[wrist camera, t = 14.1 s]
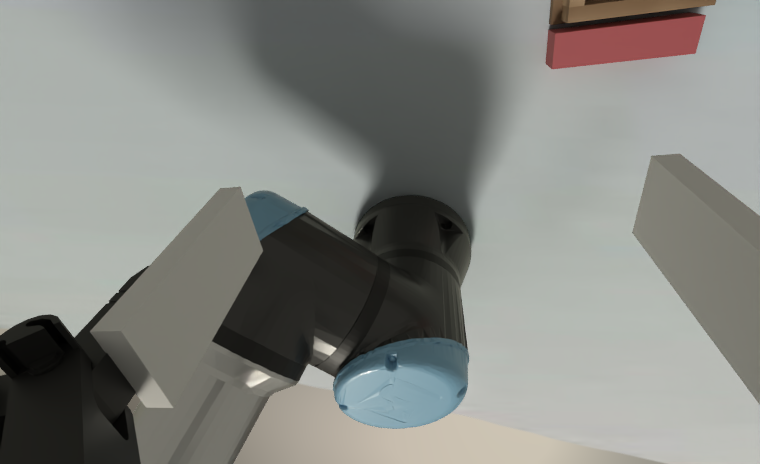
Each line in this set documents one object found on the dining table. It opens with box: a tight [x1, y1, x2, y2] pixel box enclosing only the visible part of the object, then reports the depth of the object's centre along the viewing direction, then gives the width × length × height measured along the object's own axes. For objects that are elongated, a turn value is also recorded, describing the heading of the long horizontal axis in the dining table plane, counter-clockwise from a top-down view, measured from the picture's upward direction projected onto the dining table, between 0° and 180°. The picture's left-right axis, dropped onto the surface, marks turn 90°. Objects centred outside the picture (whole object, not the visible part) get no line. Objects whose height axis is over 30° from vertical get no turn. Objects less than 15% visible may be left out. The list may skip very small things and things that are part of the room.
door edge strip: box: [546, 12, 706, 69], centre depth 37 cm, size 3×12×2 cm, turn 98°
